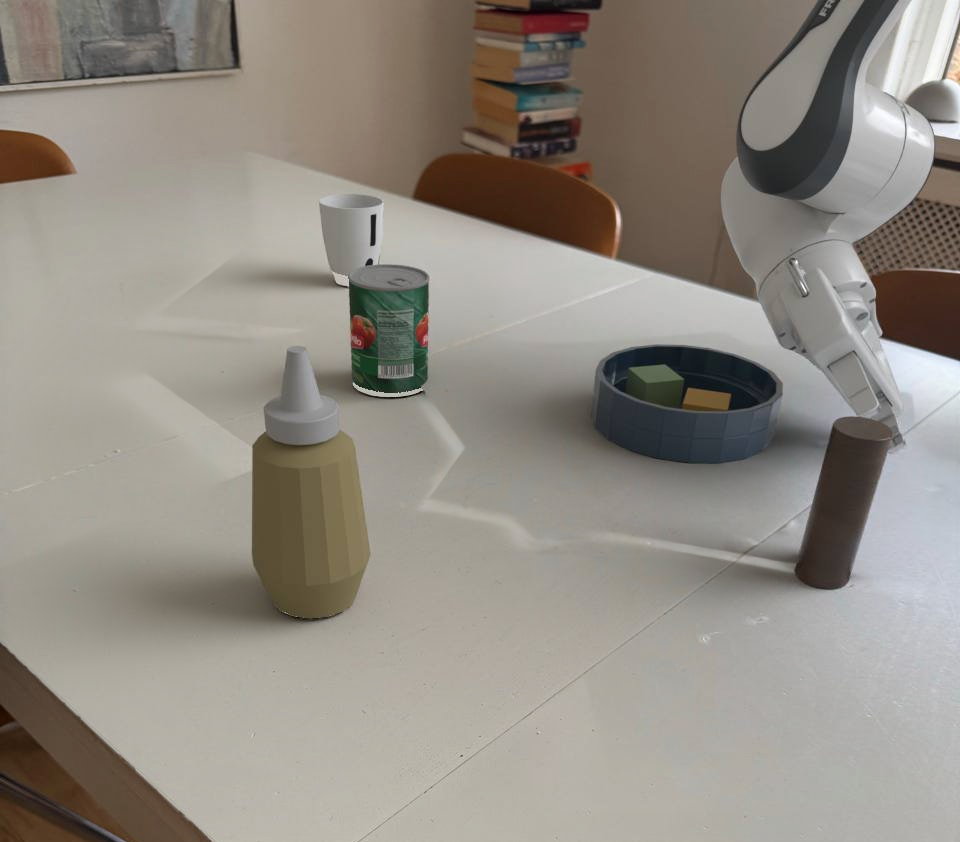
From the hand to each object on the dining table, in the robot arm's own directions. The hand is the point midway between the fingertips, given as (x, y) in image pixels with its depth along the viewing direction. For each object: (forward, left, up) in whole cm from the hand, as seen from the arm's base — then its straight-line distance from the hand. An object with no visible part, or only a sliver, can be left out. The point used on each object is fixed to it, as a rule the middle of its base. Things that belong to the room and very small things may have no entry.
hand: (884, 432), depth 83 cm
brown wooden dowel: (+8, +13, -6) cm, 16 cm away
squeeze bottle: (+46, +16, -6) cm, 49 cm away
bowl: (+13, -13, -6) cm, 20 cm away
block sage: (+16, -16, -5) cm, 23 cm away
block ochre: (+12, -10, -5) cm, 17 cm away
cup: (+46, -59, -6) cm, 76 cm away
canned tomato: (+41, -24, -6) cm, 48 cm away
